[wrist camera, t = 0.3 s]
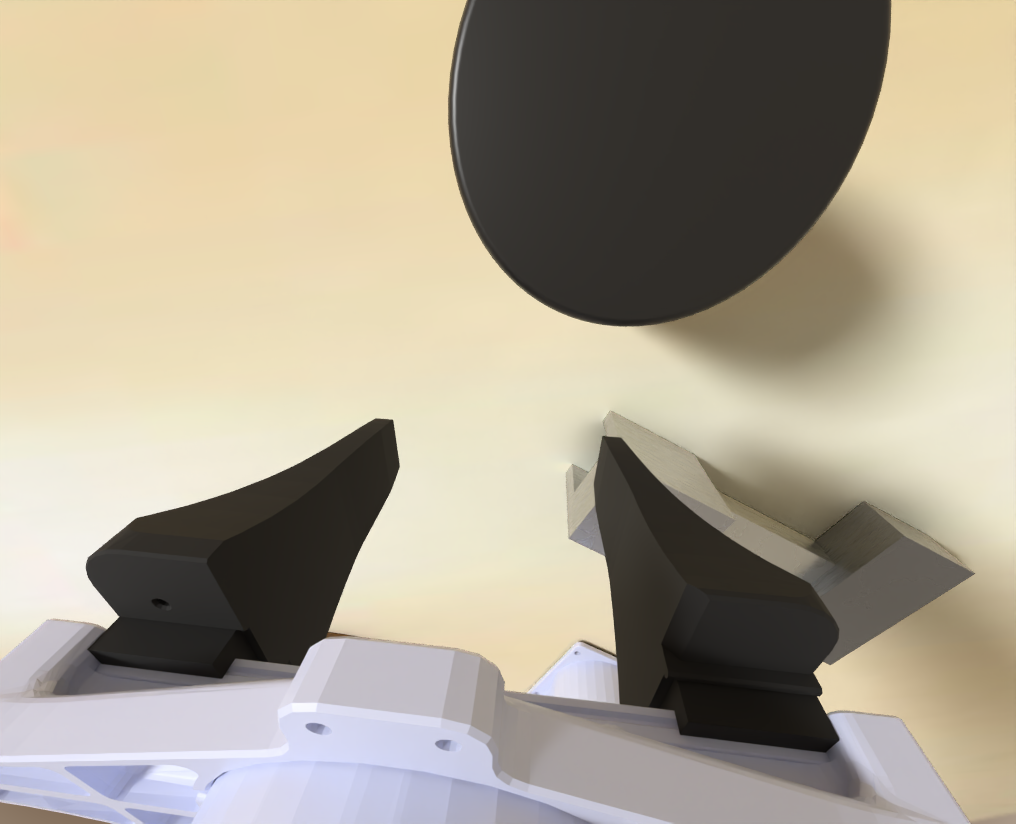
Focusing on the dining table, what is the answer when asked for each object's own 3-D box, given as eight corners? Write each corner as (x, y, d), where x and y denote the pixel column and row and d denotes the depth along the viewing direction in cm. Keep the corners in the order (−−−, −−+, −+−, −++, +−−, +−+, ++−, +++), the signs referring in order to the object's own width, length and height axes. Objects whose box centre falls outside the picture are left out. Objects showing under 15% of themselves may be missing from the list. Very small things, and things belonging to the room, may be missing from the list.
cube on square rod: (643, 511, 26) (667, 585, 20) (565, 473, 25) (568, 538, 20) (694, 454, 23) (736, 520, 18) (610, 410, 23) (627, 464, 17)
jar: (729, 180, 17) (1016, 88, 7) (599, 315, 21) (647, 404, 10) (589, 19, 16) (663, -463, 5) (469, 194, 19) (354, 139, 8)
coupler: (803, 623, 28) (830, 665, 25) (647, 547, 27) (658, 582, 24) (927, 535, 24) (975, 573, 21) (749, 439, 23) (775, 467, 20)
